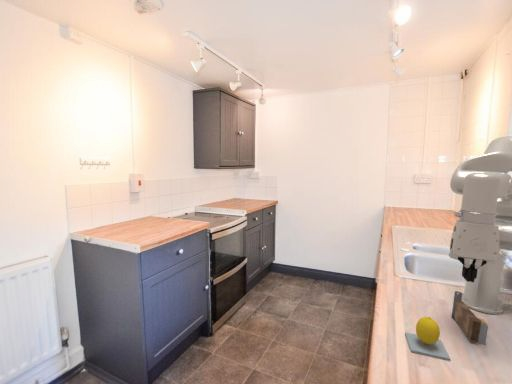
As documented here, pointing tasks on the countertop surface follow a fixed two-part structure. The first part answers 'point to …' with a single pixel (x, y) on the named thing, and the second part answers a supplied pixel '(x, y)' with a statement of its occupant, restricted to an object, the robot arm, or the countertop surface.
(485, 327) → the post
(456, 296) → the gatepost
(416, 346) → the mat
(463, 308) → the brown wooden block
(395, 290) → the countertop surface
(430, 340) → the lemon
